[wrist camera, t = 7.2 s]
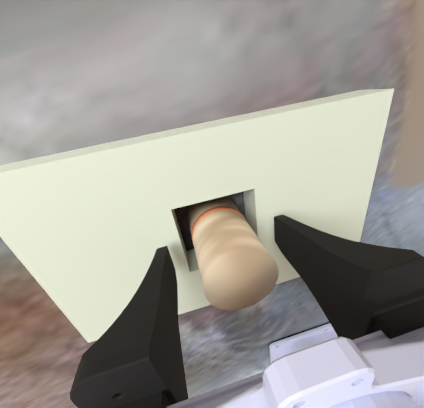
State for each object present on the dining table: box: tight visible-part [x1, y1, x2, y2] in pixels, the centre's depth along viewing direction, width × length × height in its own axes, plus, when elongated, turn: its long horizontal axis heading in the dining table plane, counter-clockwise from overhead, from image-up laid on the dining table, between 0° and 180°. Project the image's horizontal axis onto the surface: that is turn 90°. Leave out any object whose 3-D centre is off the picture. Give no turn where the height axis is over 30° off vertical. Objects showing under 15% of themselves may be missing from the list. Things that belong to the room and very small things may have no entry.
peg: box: [188, 196, 279, 310], centre depth 14 cm, size 4×4×7 cm
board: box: [0, 89, 394, 343], centre depth 16 cm, size 24×14×2 cm, turn 100°
